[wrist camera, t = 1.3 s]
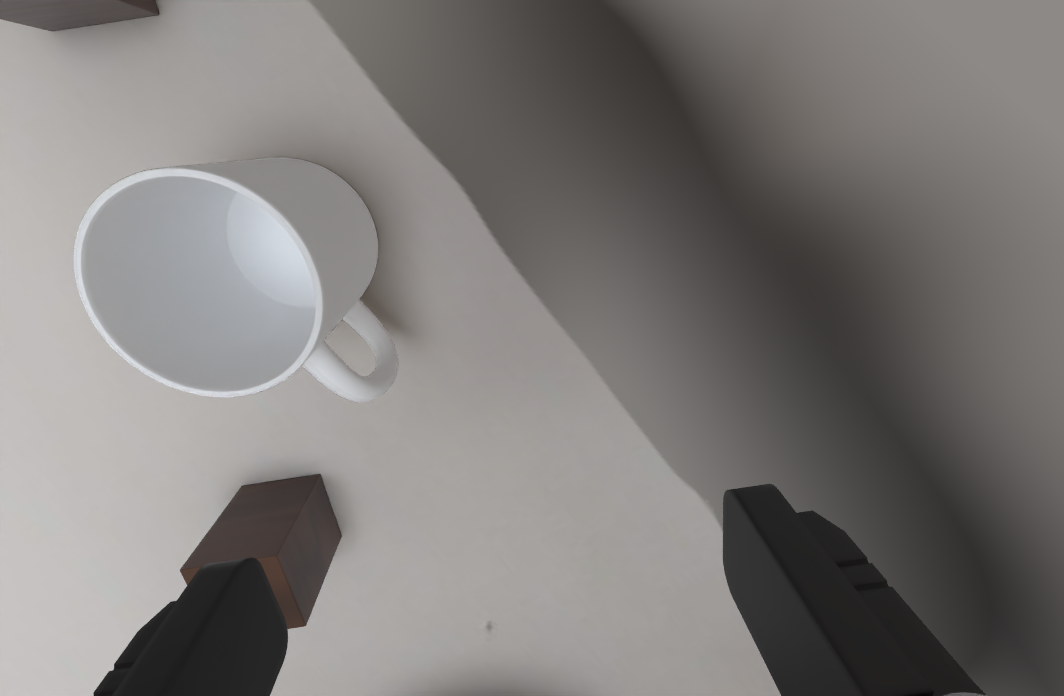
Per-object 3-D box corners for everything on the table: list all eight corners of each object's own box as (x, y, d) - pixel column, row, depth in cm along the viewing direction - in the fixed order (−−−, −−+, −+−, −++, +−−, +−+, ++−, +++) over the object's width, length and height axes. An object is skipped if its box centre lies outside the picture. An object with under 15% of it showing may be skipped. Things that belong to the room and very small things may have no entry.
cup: (291, 119, 26) (171, 109, 16) (462, 296, 30) (444, 371, 20) (185, 232, 27) (21, 282, 18) (359, 387, 31) (299, 495, 22)
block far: (241, 485, 33) (178, 570, 27) (320, 473, 33) (276, 555, 27) (267, 547, 35) (214, 640, 29) (341, 536, 35) (306, 626, 29)
